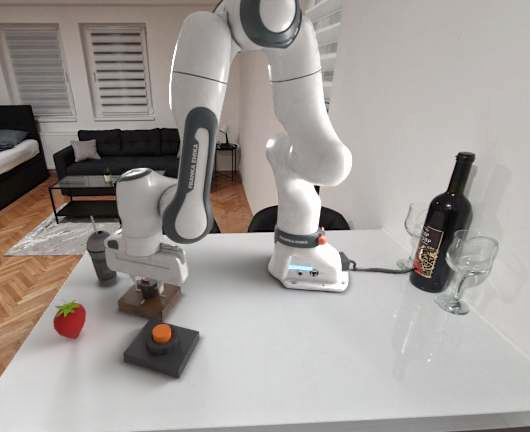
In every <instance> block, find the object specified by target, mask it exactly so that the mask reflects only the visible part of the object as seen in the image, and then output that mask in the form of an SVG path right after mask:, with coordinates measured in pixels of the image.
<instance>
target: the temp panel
mask: <svg viewBox="0 0 530 432" xmlns="http://www.w3.org/2000/svg"><path fill="white" fill-rule="evenodd" d="M140 278H141V279H144V278H145V277H140ZM157 284H158V282H157ZM159 284H160V283H159ZM163 287H164V290H163V292H162V293H161V294H159V293H158V294H157V296H155V297H153V298H144V297H143V296H142V292H141V289H137V288H136V287H135V283H133V285H132V286H130V288H128V290H127V291H126V292H124V293H123V295H122V296H121V297H120V298H119V299H118V300H117V306H118V312H121V313H125V314H130V315H134V316H138V317H142V318H145V319H148V320H150V319H152V320H156V321H160V322H165V320H166V319H167V317H168V316H169V314H170V313H171V311H172V310H173V308H174V307H175V306H176V304H177V303H178V301H179V300H180V299H181V297H182V285H178V284H173V283H168V282H165V283H164V285H163Z"/></svg>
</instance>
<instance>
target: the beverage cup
mask: <svg viewBox="0 0 530 432" xmlns="http://www.w3.org/2000/svg"><path fill="white" fill-rule="evenodd" d="M90 220H91V224H92V227H93V229H94V232H92V233H91V234H90V235H89V236H88V238H87V240H86V248H85V249H86V251H87V253H88V255H89V257H90V259H91V262H92V265H93V268H94V269H93V270H94V272H95V274H96V278H97V280H98V283H99V285H100V286H101V287H102V288H103V287H104V288H108V287H111V286H114V285H115V284H116V283H117V281H118V279H117V278H118V277H117V276H118V275H117V273H118V272H116V271H112V270H110V269H109V267H108V266H107V263H106V257H105V250H106V247H105V245H104V240H105V239H106V238H107V237H109V236H110V235H111V234H112V233H110V232H108V231H107V230H98V229H97V226H96V224H95V220H94V216H93V215H90Z"/></svg>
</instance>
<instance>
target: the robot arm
mask: <svg viewBox="0 0 530 432" xmlns="http://www.w3.org/2000/svg"><path fill="white" fill-rule="evenodd" d="M257 51H260V52H261V53H262V55H263V56H264V58H265V60H266V64H267V71H268V79H269V85H270V90H271V97H272V105H273V111H274V115H275V117H276V119H277V121H278V122H279V123H280V124H281V125H282V127H283V128H284V131H279V132H276V133H275V134H273V135H272V136H271V137H270V138H269V140H268V141H267V143H266V146H265V157H266V159H267V161H268V163H269V164H270V167H271V169H272V172H273V177H274V182H275V186H276V191H277V203H278V204H277V218H276V219H277V220H276V223H275V225H274V232H273V242H274V246H273V251H272V254H271V257H270V260H269V262H268V265H267V269H268V272H269V273H270V275H272V277H274V278H276V279H277V280H279V281H280V282H281V283H282V285H283V286H284V287H285V288H287V289H296V290H308V291H310V290H311V291H322V292H336V293H337V292H338V293H341V292H344V291H345V290H346V289H347V287H348V284H349V270H350V267H351V264H353V265H352V269H353V270H354V271H356V272H375V271H376V272H387V273H395V274H397V273H399V274H400V273H401V274H402V273H407V272H410V271H412V270H411V267H412V266H411V267H408V268H404V269H392V268H384V267H383V268H382V267H369V268H358V267H357V262H356V261H355V260H353V259H350V258H348V256H347V255H346V253H344V251H338V250H337V249H336V248H335V247H334V246H332V245H331V244H329V243H328V242H327V237H326V232H325V228H324V227H323V226H322V227H320V226H319V224H320V223H319V222H320V216H321V210H322V209H321V208H322V202H321V197H320V196H319V194H318V193H317V191H316V189H315V186H319V187H326V188H332V187H336V186H338V185H340V184H342V183H343V182H344V181H345V180H346V178H347V177H348V176H349V174H350V173H351V169H352V166H353V165H352V164H353V156H352V153H351V151H350V149H349V148H348V147H347V146H346V145H345V144H344V143H343V142H342V141H341V139H340V137H339V136H338V135H337V133H336V131H335V129H334V127H333V125H332V122H331V120H330V117H329V114H328V111H327V107H326V103H325V95H324V94H325V93H324V85H323V75H322V74H323V72H322V62H321V54H320V48H319V42H318V38H317V33H316V31H315V26H314V24H313V22H312V20H311V19H310V18H309V17H308V16H306V15H303V11H302V8H301V5H300V0H220V1H219V2H218V3H217V5H216V6H215V7H214V9H213V10H212V11H207V10H200V11H195V12H191V13H190V14H189V15H187V16H186V17H185V19H184V20H183V22H182V25H181V28H180V31H179V34H178V38H177V41H176V44H175V49H174V53H173V59H172V63H171V64H172V65H171V69H170V70H171V72H170V79H169V107H170V112H171V115H172V118H173V119H174V122H175V124H176V127H177V131H178V135H179V140H180V154H179V164H178V172H177V178H173V177H168V176H165V175H163V174H160V173H158V172H156V171H154V170H153V169H151V168H148V167H143V168H142V167H139V168H133V169H131V170H128V171H126V172H124V173H122V174H121V175H120V177H119V178H118V179H117V182H116V186H115V196H116V207H117V214H118V216H119V218H120V220H121V228H119V229H117V230H116V231H114V232H113V233H110V234H111V235H110V236H109V237H107V238H106V239H105V240H104V245H105V247H106V250H105V257H106V263H107V266H108V267H109V269H110V270H112V271H116V272H117V273H120V274H121V273H122V274H127V275H129V278H130V279H131V280H132V282H133V284H135V287H136V288H137V289H141V285H140V282H141V278H149V279H154V280H157V282H158V284H157V286H155V287H154V289H155V293H159V294H161V293H162V292H163V290H164V287H163V285H164V283H168V284H173V285H177V286H181V285H182V284H183V283H184V282H185V281H186V280H187V278H188V277H189V268H188V263H187V253H186V251H185V250H183V249H182V248H181V247H180V246H179V245H177V244H180V245H192V244H195V243H198V242H199V241H201V240H203V239H204V238H206V237H207V235H209V234H210V231H211V230H212V229H213V227H214V221H215V220H214V219H215V216H214V211H213V208H212V204H211V188H212V187H211V186H212V180H213V179H212V178H213V171H214V163H215V156H216V155H215V154H216V147H217V138H218V133H219V128H220V120H221V116H222V111H223V107H224V102H225V97H226V92H227V87H228V82H229V77H230V76H229V75H230V69H231V66H232V63H233V60H234V58H235V57H236V55H237V54H240V53H251V52H257ZM163 233H164V235H165V236H166V237H167V238H168V239H169V240H170V241H171V242H174V243H176V245H175V244H174V245H173V244H169V243H166V242H165V243H164V235H163ZM159 283H160V284H159Z"/></svg>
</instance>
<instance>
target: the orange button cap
mask: <svg viewBox="0 0 530 432" xmlns="http://www.w3.org/2000/svg"><path fill="white" fill-rule="evenodd" d="M152 334H153V340H154V342H156V343H158V344H162V343H166V342H168V341H169V340H170V338H171V329H170V327H169V326H168V325H166V324H160V325H157V326H156V327H155V328H154V329H153V331H152Z"/></svg>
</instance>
